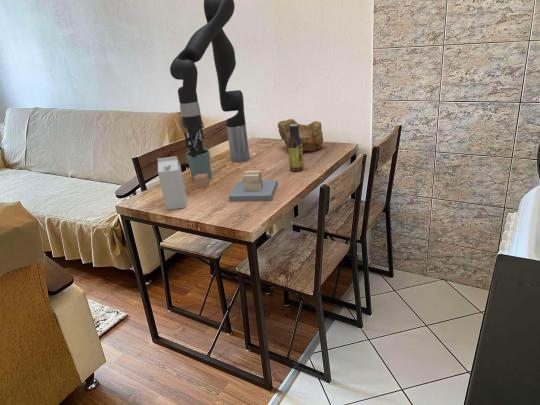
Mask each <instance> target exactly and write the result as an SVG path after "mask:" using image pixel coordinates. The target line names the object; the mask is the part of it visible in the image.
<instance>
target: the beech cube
mask: <svg viewBox="0 0 540 405" xmlns="http://www.w3.org/2000/svg"><path fill="white" fill-rule="evenodd" d="M262 174H263V173H262V170H245V173H243V175H242V181H243V182H244V190H245V191H260V189H261V187H262V185H263V183H262V180H263V176H262Z"/></svg>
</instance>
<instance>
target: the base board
mask: <svg viewBox="0 0 540 405" xmlns="http://www.w3.org/2000/svg"><path fill="white" fill-rule="evenodd" d="M262 183H263V185H262V187H261V189H260V191H245V190H244V182H243V180H241V181H240V180H238V182H237V183H236V184H235V187H233V189H232V191H231V193H229V196H228V198H229V202H261V201H263V202H265V201H267V202H268V201H269V202H270V201H272V200H273V197H274V195H275V192H276V190H277V187H278V184H279V183H278V180H277V179H269V180H268V179H267V180H265V179H264V180H263V179H262Z"/></svg>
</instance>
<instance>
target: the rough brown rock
mask: <svg viewBox="0 0 540 405" xmlns="http://www.w3.org/2000/svg"><path fill="white" fill-rule="evenodd" d="M292 124H298V125H299V128H298V129H299V136H300V138H301V141H302V146H303V152H305V151H308V152H315V151H317V150H319V149H320V148H321V147H323V144H324V137H323V131H322V123H321V122H320V121H319V120H317V121H315V120H314V121H312V122H311V123H308V124H302V123H298V122H297V121H296V120H295V119H291V118H290V119H289V118H288V119H287V120H281V121H279V122H278V123H277V127H278V133H279V135H280V138H281V140H282V141H284V144H285V145H286V150H287V154H289V152H288V140H289V138H290V129H289V125H292Z"/></svg>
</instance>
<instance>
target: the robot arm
mask: <svg viewBox="0 0 540 405" xmlns="http://www.w3.org/2000/svg"><path fill="white" fill-rule="evenodd" d="M203 10H204V16H205V19H206V20H205V21H206V24H204V25H203V26H202V27H200V28H199V29H197V30H196V31H195V32H194V33H193V34H192V36H191V37H190V38H189V40H188V41H187V44H186V45H185V47H184V49H183V50H181V51H179V53H178V54H177V56H175V58H174V59H173V60H172V62H171V63H170V67H169V72H170V75H171V77H172V78H173V79H175V80H178V81H180V80H181V81H182V86H180V87H179V88H178V89H177V95H178V100H179V110H180V117H181V122H182V127H183V128H185V129H187V132H184V138H185V144H186V145H185V146H186V148H187V149H189V151H190V153H191V157H197V153H196V149H198V151H203V149H204V144H203V141H204V139H205V136H204V131H203V126H202V125H203V120H202V119H203V118H202V113H201V107H200V103H199V100H198V93H197V92H198V91H197V87H198V76H199V75H198V74H199V73H198V68H197V65H196V64H195V63H197V62H199V61H200V60H201V59H202V58H203V57H204V55H205V53H206V51H207V49H208V48H209V46H210V44H211V47H212V53H213V55H212V56H213V62H214V66H215V72H216V75H217V76H216V77H217V83H218V84H217V85H218V93H219V95H218V96H219V102H220V108H221V110H222V111H223V112H236V111H237V113H236V114H235V115H233V116H231V117H229V118H227V119H226V121H225V123H226V131H227V136H228V137H227V139H228V146H229V153H230V160H231V162H235V163H240V162H241V163H242V162H246V161H248V160H250V158H251V156H250V149H249V141H248V140H249V139H248V132H247V123H246V116H245V104H244V102H245V101H244V94H243V92H242V90H241V89H238V90H237V89H236V90H227V86H228V83H229V80H230V79H231V77H232V75H233V73H234V71H235V69H236V66H237V60H236V53H235V49H234V45H233V44H232V42H231V41H230V39H229V37H228V36H227V34H226V32H225V31H224V29H223V28H224V27H225V26H226V24H227V23H228V22H229V21H230V20H231V18H232V17H233V15H234V13H235V1H234V0H203Z"/></svg>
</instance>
